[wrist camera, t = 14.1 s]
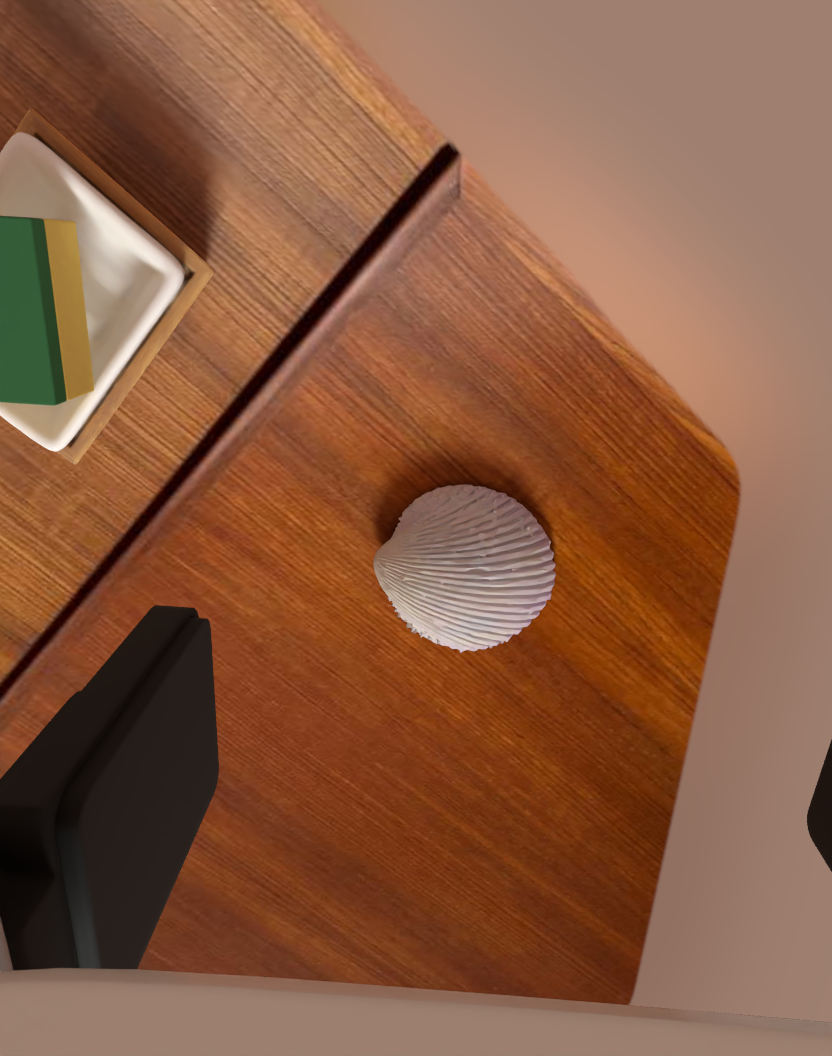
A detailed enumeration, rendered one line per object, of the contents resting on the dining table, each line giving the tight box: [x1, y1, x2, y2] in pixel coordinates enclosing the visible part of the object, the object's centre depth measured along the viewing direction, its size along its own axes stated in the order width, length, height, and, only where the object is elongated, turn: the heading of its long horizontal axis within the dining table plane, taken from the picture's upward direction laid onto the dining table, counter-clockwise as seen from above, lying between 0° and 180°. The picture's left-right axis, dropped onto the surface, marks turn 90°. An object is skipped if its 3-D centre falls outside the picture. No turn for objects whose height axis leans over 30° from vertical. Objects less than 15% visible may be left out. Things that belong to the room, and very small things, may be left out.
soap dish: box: [0, 109, 215, 465], centre depth 34 cm, size 12×10×5 cm
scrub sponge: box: [0, 216, 94, 406], centre depth 30 cm, size 7×5×4 cm, turn 177°
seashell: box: [373, 485, 556, 652], centre depth 39 cm, size 10×6×10 cm
